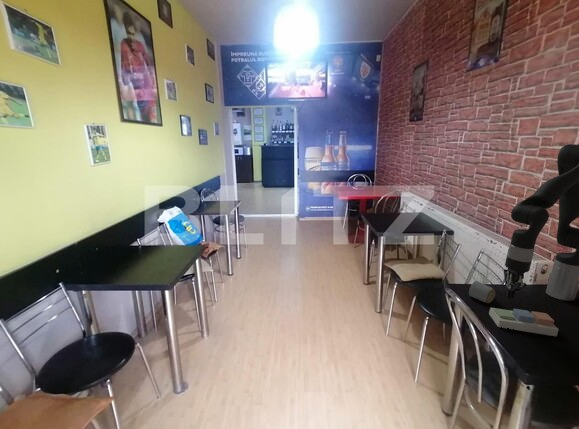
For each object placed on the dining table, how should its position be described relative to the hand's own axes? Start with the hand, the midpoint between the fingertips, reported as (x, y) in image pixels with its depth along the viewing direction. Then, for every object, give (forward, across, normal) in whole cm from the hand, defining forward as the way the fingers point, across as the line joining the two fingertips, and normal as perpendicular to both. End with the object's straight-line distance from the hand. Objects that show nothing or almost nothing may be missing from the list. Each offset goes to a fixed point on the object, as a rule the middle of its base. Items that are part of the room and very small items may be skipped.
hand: (509, 297), depth 113 cm
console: (+10, -2, -5) cm, 11 cm away
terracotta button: (+8, -2, -11) cm, 14 cm away
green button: (+9, -2, +1) cm, 9 cm away
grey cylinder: (+10, +16, +3) cm, 19 cm away
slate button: (+8, -2, -5) cm, 9 cm away
